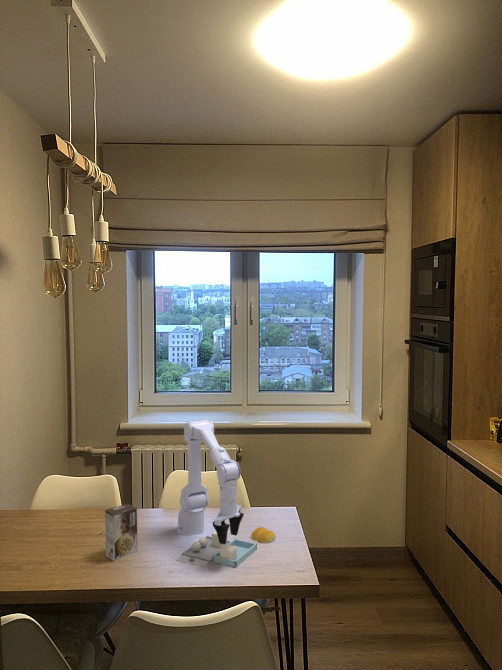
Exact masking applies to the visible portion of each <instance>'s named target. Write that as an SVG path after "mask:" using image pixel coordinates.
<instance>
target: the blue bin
mask: <svg viewBox="0 0 502 670" xmlns="http://www.w3.org/2000/svg"><path fill="white" fill-rule="evenodd" d="M228 545H231V546H235V547H237V559H236V560H231V559H227V558H223V557H220V550H219V551H218V552H217V553H215V554H214V555H213V556H212V563H217V564H221V565H223V566H226V567H230V568H231V567H232V568H235V569H237V567H238V566H240V565H241V564H242V563H243V562H244V561H246V560H247V559H249V557H251V556H252V555H253V554H254V553H255V552H256V551H257V550H258V544H257V543H255V542H250V541H246V540H241V539H237V538H234V539H232V540H231V542H230V543H228Z"/></svg>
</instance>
